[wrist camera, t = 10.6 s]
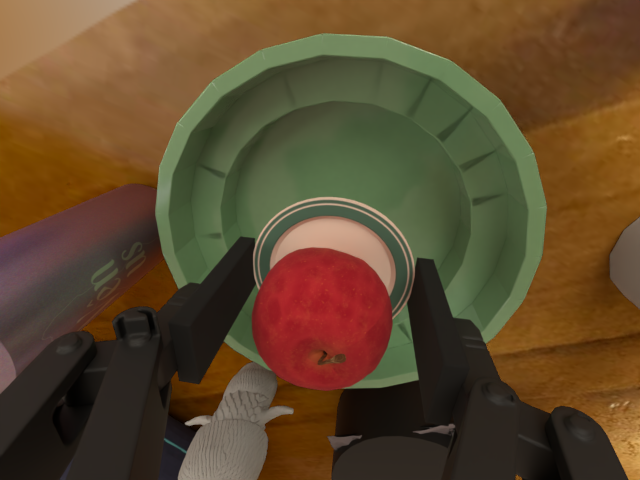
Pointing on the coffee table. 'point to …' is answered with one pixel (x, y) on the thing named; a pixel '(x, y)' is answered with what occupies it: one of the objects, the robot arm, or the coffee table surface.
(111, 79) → the coffee table surface
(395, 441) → the tape dispenser
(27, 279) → the beverage can
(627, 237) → the cup
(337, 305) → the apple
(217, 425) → the figurine
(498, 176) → the bowl
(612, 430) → the coffee table surface
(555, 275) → the coffee table surface
